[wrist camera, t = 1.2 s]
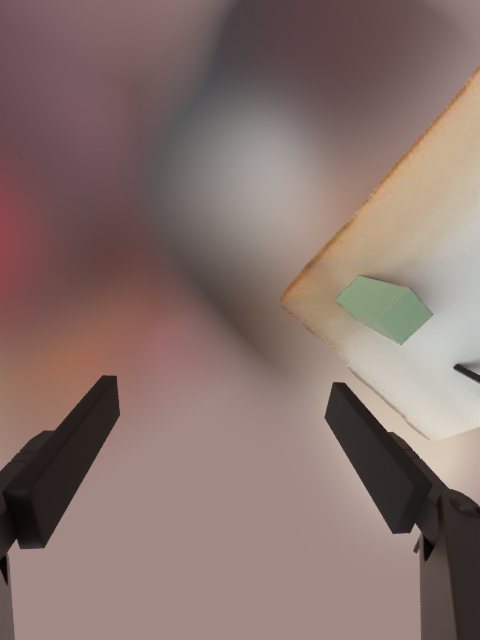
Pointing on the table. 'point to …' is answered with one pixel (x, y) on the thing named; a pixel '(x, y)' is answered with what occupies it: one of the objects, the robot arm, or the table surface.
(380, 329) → the block
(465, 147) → the table surface
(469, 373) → the rack
